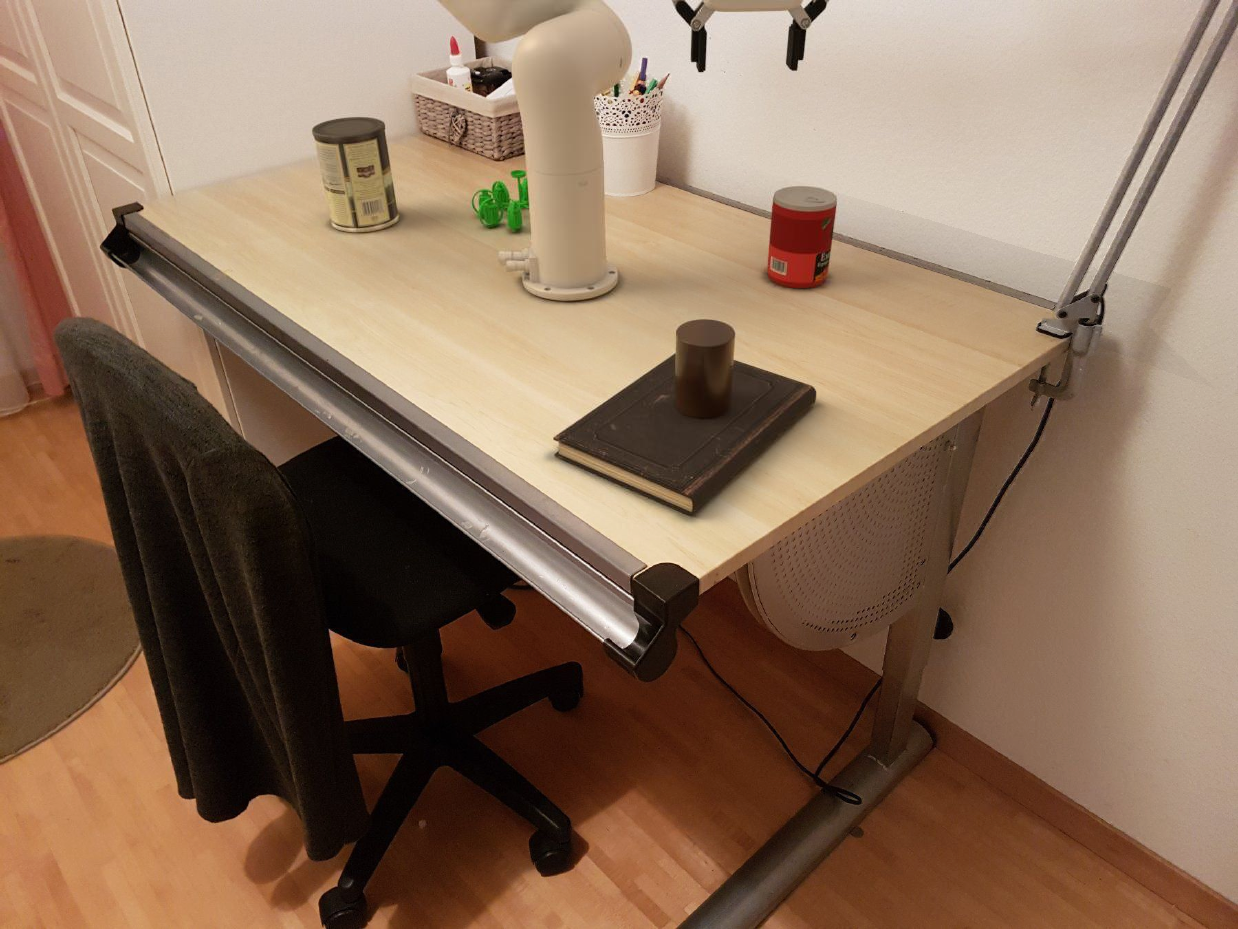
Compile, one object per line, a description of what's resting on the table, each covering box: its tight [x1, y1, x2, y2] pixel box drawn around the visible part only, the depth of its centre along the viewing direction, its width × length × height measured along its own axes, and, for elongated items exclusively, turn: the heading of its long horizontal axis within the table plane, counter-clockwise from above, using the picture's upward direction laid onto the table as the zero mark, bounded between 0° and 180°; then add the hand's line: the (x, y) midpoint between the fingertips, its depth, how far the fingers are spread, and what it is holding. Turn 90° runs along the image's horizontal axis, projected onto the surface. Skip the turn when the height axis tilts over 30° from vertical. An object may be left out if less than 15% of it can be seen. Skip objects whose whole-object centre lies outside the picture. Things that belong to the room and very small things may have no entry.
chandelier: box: [471, 169, 529, 233], centre depth 139 cm, size 15×15×7 cm
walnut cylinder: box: [674, 318, 736, 419], centre depth 89 cm, size 6×6×8 cm
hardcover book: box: [552, 352, 817, 516], centre depth 91 cm, size 16×23×2 cm
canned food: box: [766, 185, 838, 289], centre depth 119 cm, size 8×8×11 cm
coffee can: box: [311, 116, 400, 233], centre depth 137 cm, size 10×10×14 cm
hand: (746, 68), depth 97 cm, fingers open, 9 cm apart
